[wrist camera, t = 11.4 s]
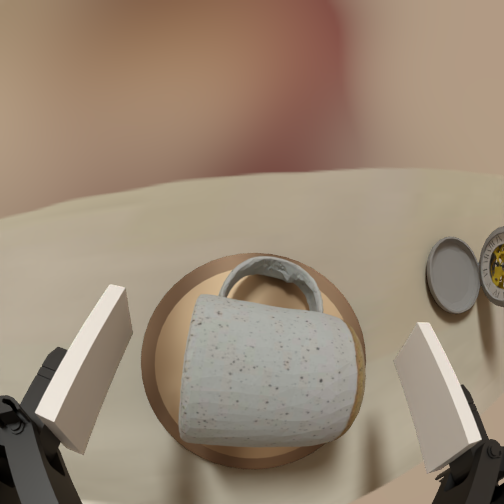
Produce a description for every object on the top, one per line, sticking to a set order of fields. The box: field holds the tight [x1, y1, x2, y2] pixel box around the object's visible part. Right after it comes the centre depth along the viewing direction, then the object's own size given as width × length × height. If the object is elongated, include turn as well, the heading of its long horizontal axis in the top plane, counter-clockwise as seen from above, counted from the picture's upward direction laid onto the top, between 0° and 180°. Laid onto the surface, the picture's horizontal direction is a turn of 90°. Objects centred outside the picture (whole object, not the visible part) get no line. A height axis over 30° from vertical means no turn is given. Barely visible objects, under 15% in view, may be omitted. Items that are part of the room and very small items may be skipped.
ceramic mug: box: [178, 256, 366, 447], centre depth 14 cm, size 11×8×8 cm
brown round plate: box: [141, 253, 366, 469], centre depth 18 cm, size 15×15×1 cm
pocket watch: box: [427, 226, 504, 314], centre depth 16 cm, size 8×8×10 cm
